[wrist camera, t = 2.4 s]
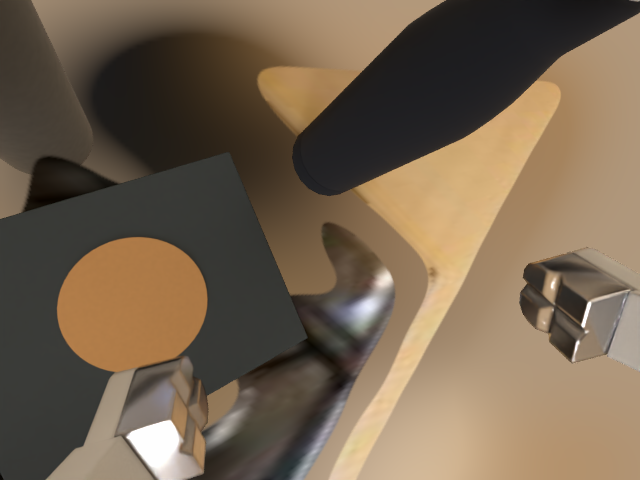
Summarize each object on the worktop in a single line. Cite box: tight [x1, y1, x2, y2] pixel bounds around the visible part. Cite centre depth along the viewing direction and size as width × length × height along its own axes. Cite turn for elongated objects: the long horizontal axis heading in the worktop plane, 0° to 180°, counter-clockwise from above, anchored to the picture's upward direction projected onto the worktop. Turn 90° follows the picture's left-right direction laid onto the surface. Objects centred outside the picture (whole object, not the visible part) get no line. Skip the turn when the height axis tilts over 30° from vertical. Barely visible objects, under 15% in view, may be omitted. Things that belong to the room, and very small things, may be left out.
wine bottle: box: [292, 0, 640, 196], centre depth 18 cm, size 6×6×30 cm
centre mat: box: [0, 152, 308, 480], centre depth 24 cm, size 16×20×1 cm
